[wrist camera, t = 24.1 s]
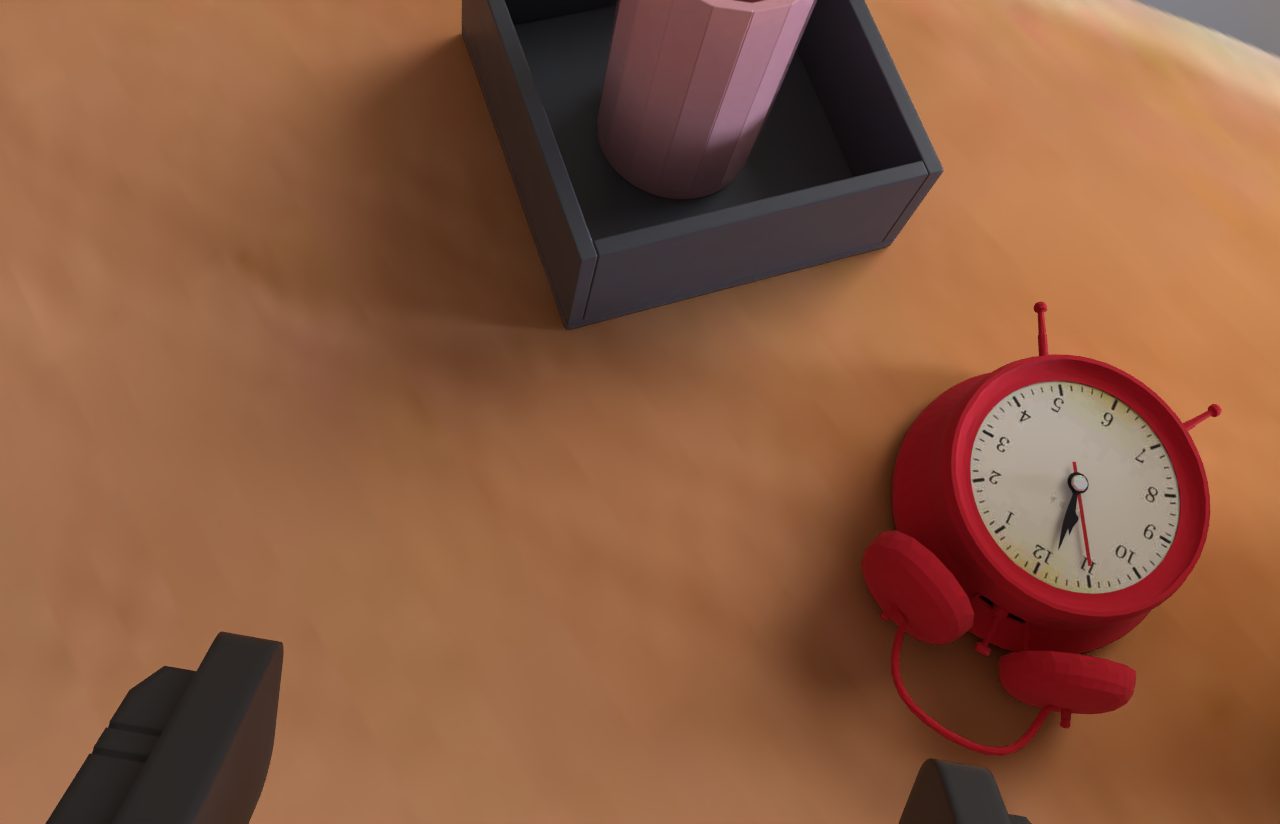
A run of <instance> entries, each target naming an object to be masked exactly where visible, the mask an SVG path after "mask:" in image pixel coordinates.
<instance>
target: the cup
mask: <svg viewBox="0 0 1280 824" xmlns="http://www.w3.org/2000/svg"><path fill="white" fill-rule="evenodd" d="M816 2H817V0H617V4H616V9H615V14H614V20H613V25H612V30H611V35H610V41H609V46H608V51H607V56H606V62H605V67H604V72H603V77H602V83H601V88H600V93H599V100H598V109H597V116H596V131H597V138H598V141H599V144H600V147H601V149H602V151H603V154H604V155H605V157H606V159H607V160H608V162H609V163H610V165H611V166H612V167H613V168H614V169H615V171H616V172H617V173H618V174H619V175H621V176H622V177H623V178H624V179H625V180H626V181H628V182H629V183H630V184H632V185H634V186H635V187H637V188H639V189H641V190H643V191H645V192H647V193H650V194H653V195H656V196H659V197H664V198H669V199H694V198H700V197H704V196H707V195H711V194H713V193H715V192H717V191H720V190H721V189H723V188H725V187H726V186H728V185H729V184H730V183H731V182H733V181H734V180H735V179H736V178H737V177H738V176H739V174H740V173H741V172H742V171H743V169H744V167H745V166H746V164H747V162H748V160H749V157H750V155H751V153H752V151H753V149H754V148H755V146H756V143H757V141H758V139H759V136H760V134H761V132H762V129H763V127H764V124H765V122H766V120H767V117H768V115H769V113H770V110H771V108H772V106H773V103H774V101H775V98H776V96H777V94H778V91H779V89H780V87H781V84H782V82H783V80H784V77H785V75H786V73H787V70H788V68H789V65H790V63H791V61H792V58H793V56H794V54H795V51H796V49H797V47H798V44H799V42H800V39H801V37H802V35H803V32H804V30H805V28H806V25H807V23H808V21H809V18H810V16H811V13H812V11H813V9H814V6H815V4H816Z"/></svg>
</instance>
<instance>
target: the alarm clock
mask: <svg viewBox="0 0 1280 824" xmlns="http://www.w3.org/2000/svg"><path fill="white" fill-rule="evenodd" d="M1046 310H1047V305H1046V304H1045V303H1044V302H1037V303H1036V304H1035V306H1034V311H1035V312H1037V313H1038V328H1039V335H1038V346H1039V356H1037V357H1031V358H1026V359H1021V360H1018V361H1015V362H1012V363H1009V364H1007V365H1004V366H1002V367H1000V368H999V369H997V370H995V371H993V372H991V373H987V374H983V375H979V376H976V377H973V378H970V379H968V380H965V381H963V382H961V383H959V384H957V385H955V386H953V387H951V388H950V389H948V390H947V391H945V392H944V393H942V394H941V395H940V396H938V397H937V398H936V399H935V400H934V401H933V402H932V403H931V404H930V405H929V406H928V407H927V408H926V409H925V410H924V411H923V412H922V413H921V414H920V415H919V416H918V418H917V419H916V420H915V421H914V423H913V424H912V426H911V427H910V429H909V431H908V433H907V434H906V436H905V438H904V440H903V443H902V445H901V448H900V450H899V453H898V456H897V460H896V464H895V469H894V475H893V483H892V506H893V515H894V521H895V526H896V530H897V531H884V532H882V533H881V534H880V535H879V536H878V537H876V538H875V539H874V540H873V541H872V543H871V544H870V545H869V546H868V548H867V549H866V550H865V553H864V557H863V560H862V572H863V576H864V579H865V583H866V585H867V587H868V589H869V591H870V592H871V594H872V596H873V598H874V599H875V601H876V602H877V603H878V605H879V606H880V607H881V609H882V610H883V612H882V613H881V614H880V615H881V618H882V619H883V620H885V621H887V620H889V619H891V620H892V621H893V622H894V623H896V624H897V625H898V626H899V627H898V630H897V633H896V636H895V639H894V643H893V650H892V656H891V673H892V677H893V681H894V684H895V686H896V689H897V691H898V694H899V696H900V697H901V699H902V700H903V701H904V703H905V704H906V705H907V707H908V708H909V709H910V710H911V711H912V712H913V713H914V714H915V715H916V716H917V717H918V718H919V719H920V720H921V721H922V722H924V723H925V724H926V725H928V726H929V727H931V728H932V729H933V730H935V731H936V732H938V733H939V734H941V735H942V736H943V737H945V738H946V739H948V740H951V741H953V742H955V743H957V744H959V745H961V746H963V747H965V748H967V749H969V750H972V751H976V752H979V753H983V754H986V755H1000V756H1001V755H1006V754H1011V753H1015V752H1016V751H1018V750H1019V749H1021V748H1022V747H1024V746H1025V745H1027V744H1028V742H1029V741H1030V740H1031V739H1032V738H1033V737H1034V735H1035V734H1036V733H1037V731H1038V729H1039V728H1040V726H1041V725H1042V723H1043V722H1044V720H1045V718H1046V717H1047V715H1048V714H1049V713H1050V712H1051V711H1057V712H1061V723H1060V726H1061V727H1063V728H1069V727H1070V720H1071V713H1076V714H1099V713H1105V712H1109V711H1114V710H1116V709H1118V708H1120V707H1122V706H1123V705H1125V704H1126V703H1127V702H1128V701H1129V700H1130V698H1131V697H1132V695H1133V692H1134V687H1135V683H1136V671H1135V670H1133V669H1131V668H1130V667H1128V666H1126V665H1123V664H1120V663H1117V662H1113V661H1110V660H1106V659H1102V658H1097V657H1091V656H1086V655H1081V654H1080V653H1084V652H1088V651H1091V650H1094V649H1097V648H1100V647H1103V646H1105V645H1107V644H1109V643H1112V642H1114V641H1116V640H1117V639H1119V638H1121V637H1122V636H1124V635H1125V634H1127V633H1128V632H1130V631H1131V630H1132V629H1133V628H1134V627H1136V626H1137V625H1138V624H1139V623H1140V622H1141V621H1142V620H1143V619H1144V618H1145V617H1146V616H1147V614H1148V613H1149V612H1150V611H1151V610H1152V609H1154V608H1155V607H1157V606H1159V605H1160V604H1161V603H1163V602H1164V601H1165V600H1167V599H1168V598H1169V597H1171V596H1172V595H1173V594H1174V593H1175V592H1176V591H1177V589H1178V588H1179V587H1180V586H1181V585H1182V584H1183V582H1184V581H1185V580H1186V578H1187V577H1188V575H1189V574H1190V573H1191V571H1192V570H1193V568H1194V566H1195V564H1196V563H1197V561H1198V559H1199V557H1200V555H1201V552H1202V549H1203V547H1204V544H1205V541H1206V537H1207V532H1208V527H1209V519H1210V495H1209V488H1208V481H1207V478H1206V474H1205V470H1204V466H1203V463H1202V460H1201V458H1200V455H1199V453H1198V450H1197V448H1196V446H1195V444H1194V442H1193V440H1192V438H1191V436H1190V434H1189V433H1188V431H1189V430H1190V429H1192V428H1194V427H1195V425H1197V424H1199V423H1200V422H1202V421H1203V420H1205V419H1207V418H1208V417H1210V416H1212V417H1217V416H1219V415H1220V413H1221V407H1220V406H1219V405H1217V404H1212V405H1211V406H1209V407H1208V411H1206V412H1205V413H1203V414H1201V415H1199V416H1197V417H1195V418H1193V419H1191V420H1189V421H1187V422H1185V423H1183V424H1182V422H1181V421H1180V419H1179V418H1178V417H1177V415H1176V414H1175V413H1174V412H1173V411H1172V409H1171V408H1170V407H1169V406H1168V405H1167V404H1166V403H1165V402H1164V401H1163V400H1162V399H1161V398H1160V397H1159V396H1158V395H1157V394H1156V393H1155V392H1154V391H1152V390H1151V389H1150V388H1149V387H1147V386H1146V385H1145V384H1144V383H1142V382H1141V381H1139V380H1138V379H1136V378H1134V377H1133V376H1131V375H1129V374H1128V373H1126V372H1124V371H1122V370H1120V369H1118V368H1116V367H1114V366H1111V365H1109V364H1107V363H1104V362H1100V361H1097V360H1094V359H1090V358H1085V357H1081V356H1073V355H1048V346H1047V335H1046V329H1045V318H1044V312H1046ZM904 631H905V632H906V633H908V634H909V635H911V636H913V637H914V638H916V639H917V640H920V641H923V642H926V643H930V644H935V645H940V644H946V643H950V642H953V641H954V640H956V639H958V638H959V637H961V636H962V635H964V634H965V633H966V632H967V631H969V632H971V633H972V634H974V635H976V636H978V637H979V638H981V639H983V641H982V643H981V642H977V644H976V645H975V647H974V650H976V651H978V652H979V653H981V654H983V655H984V656H986V657H987V656H988V655H989V654H990V652H991V648H989V647H987V646H988V644H989V642H990V643H992V644H994V645H996V646H998V647H1000V648H1003V649H1006V650H1010V651H1014V652H1013V653H1008V654H1006V655H1004V656H1002V657H1000V659H999V677H1000V682H1001V684H1002V686H1003V687H1004V689H1005V690H1006V691H1007V692H1008V693H1009V694H1010V695H1011V696H1013V697H1014V698H1016V699H1018V700H1019V701H1021V702H1023V703H1026V704H1029V705H1032V706H1035V707H1039V708H1042V710H1041V712H1040V713H1039V715H1038V716H1037V718H1036V719H1035V721H1034V722H1033V724H1032V725H1031V727H1030V728H1029V730H1028V731H1027V732H1026V733H1025V734H1024V735H1023V737H1022V738H1021V739H1019V740H1018V741H1016V742H1015V743H1013V744H1012V745H1008V746H1005V747H989V746H984V745H979V744H977V743H974V742H972V741H969V740H966V739H964V738H962V737H960V736H958V735H956V734H955V733H953V732H951V731H949V730H947V729H945V728H944V727H942V726H941V725H939V724H938V723H937V722H935V721H934V720H933V719H931V718H930V717H929V716H927V715H926V714H925V713H924V712H923V711H922V710H921V709H920V708H919V707H918V706H917V705H916V704H915V703H914V702H913V701H912V699H911V698H910V696H909V695H908V693H907V691H906V690H905V688H904V686H903V683H902V680H901V676H900V669H899V659H900V651H901V645H902V640H903V636H904Z"/></svg>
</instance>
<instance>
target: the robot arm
mask: <svg viewBox="0 0 1280 824" xmlns="http://www.w3.org/2000/svg"><path fill="white" fill-rule="evenodd" d="M282 663H283V643H282V642H278V641H272V640H266V639H261V638H255V637H249V636H244V635H238V634H232V633H227V632H220V633H219V634H218V635H217V636H216V638H215V639H214V641H213V643H212V645H211V646H210V648H209V650H208V652H207V654H206V655H205V657H204V659H203V661H202V663H201V664H200V666H199V668H198V670H197V671H191V670H186V669H180V668H174V667H168V666H164V667H162V668H161V669H159V670H158V671H156V672H155V673H154V674H152V675H151V676H149V677H148V678H146V679H145V680H144V681H142V682H141V683H139V684H138V685H136V686H135V687H133V688H132V689H131V690H129V692H128V693H127V695H126V697H125V698H124V700H123V701H122V703H121V705H120V706H119V708H118V709H117V711H116V713H115V714H114V716H113V717H112V719H111V720H110V724H109V727H108V728H105V730H104V732H103V733H102V735H101V736H100V738H99V740H98V741H97V743H96V744H95V746H94V749H93V752H92V754H89V755H88V757H87V759H86V760H85V762H84V763H83V765H82V767H81V768H80V770H79V771H78V773H77V775H76V776H75V778H74V779H73V781H72V783H71V784H70V786H69V787H68V789H67V790H66V792H65V794H64V795H63V797H62V798H61V800H60V802H59V803H58V805H57V806H56V808H55V810H54V811H53V813H52V814H51V816H50V818H49V819H48V821H47V822H46V824H249V821H250V819H251V816H252V814H253V812H254V809H255V807H256V804H257V802H258V800H259V797H260V795H261V792H262V789H263V786H264V783H265V780H266V776H267V773H268V769H269V765H270V760H271V755H272V750H273V744H274V736H275V727H276V718H277V709H278V699H279V690H280V681H281V672H282ZM899 824H1031V823H1030V821H1029V820H1028V819H1027V818H1026V817H1022V816H1016V815H1011V814H1008V813H1007V810H1006V808H1005V805H1004V802H1003V800H1002V797H1001V794H1000V792H999V789H998V787H997V784H996V781H995V779H994V776H993V774H992V773H991V771H990V770H988V769H987V768H982V767H977V766H971V765H965V764H960V763H954V762H948V761H943V760H937V759H931V758H930V759H927V760H926V761H925V762H924V763H923V764H922V766H921V768H920V770H919V772H918V775H917V777H916V780H915V783H914V785H913V788H912V790H911V793H910V795H909V798H908V801H907V803H906V806H905V808H904V811H903V814H902V816H901V819H900V821H899Z"/></svg>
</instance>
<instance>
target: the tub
mask: <svg viewBox="0 0 1280 824" xmlns="http://www.w3.org/2000/svg"><path fill="white" fill-rule="evenodd" d="M616 4H617V0H462V35H463V38H464V40H465V43H466V46H467V49H468V52H469V55H470V58H471V60H472V63H473V66H474V69H475V72H476V75H477V78H478V80H479V83H480V86H481V89H482V92H483V95H484V98H485V101H486V103H487V106H488V109H489V112H490V115H491V118H492V121H493V123H494V126H495V129H496V132H497V135H498V138H499V141H500V143H501V146H502V149H503V152H504V155H505V158H506V161H507V164H508V166H509V169H510V172H511V175H512V178H513V181H514V184H515V186H516V189H517V192H518V195H519V198H520V201H521V204H522V206H523V209H524V212H525V215H526V218H527V221H528V224H529V227H530V229H531V232H532V235H533V238H534V241H535V244H536V247H537V249H538V252H539V255H540V258H541V261H542V264H543V267H544V269H545V272H546V275H547V278H548V281H549V284H550V287H551V289H552V292H553V295H554V298H555V301H556V304H557V307H558V310H559V312H560V315H561V318H562V321H563V324H564V327H565V329H566V330H569V329H573V328H577V327H581V326H585V325H588V324H592V323H596V322H600V321H604V320H608V319H611V318H615V317H619V316H623V315H627V314H631V313H635V312H638V311H642V310H646V309H650V308H654V307H658V306H661V305H665V304H669V303H673V302H677V301H681V300H684V299H688V298H692V297H696V296H700V295H704V294H707V293H711V292H715V291H719V290H723V289H727V288H730V287H734V286H738V285H742V284H746V283H750V282H754V281H757V280H761V279H765V278H769V277H773V276H777V275H780V274H784V273H788V272H792V271H796V270H800V269H803V268H807V267H811V266H815V265H819V264H823V263H826V262H830V261H834V260H838V259H842V258H846V257H850V256H853V255H857V254H861V253H865V252H869V251H873V250H876V249H880V248H884V247H888V246H890V245H891V244H892V242H893V241H894V239H895V238H896V237H897V235H898V234H899V233H900V231H901V230H902V228H903V227H904V226H905V224H906V223H907V221H908V220H909V219H910V217H911V216H912V214H913V213H914V212H915V210H916V209H917V207H918V206H919V205H920V203H921V202H922V200H923V199H924V198H925V196H926V195H927V193H928V192H929V191H930V189H931V188H932V186H933V185H934V184H935V182H936V181H937V179H938V178H939V177H940V175H941V174H942V172H943V167H942V165H941V163H940V161H939V159H938V157H937V155H936V152H935V150H934V148H933V146H932V144H931V142H930V140H929V137H928V135H927V133H926V131H925V129H924V127H923V125H922V122H921V120H920V118H919V116H918V114H917V112H916V110H915V108H914V105H913V103H912V101H911V99H910V97H909V95H908V93H907V90H906V88H905V86H904V84H903V82H902V80H901V78H900V75H899V73H898V71H897V69H896V67H895V65H894V63H893V60H892V58H891V56H890V54H889V52H888V50H887V48H886V45H885V43H884V41H883V39H882V37H881V35H880V33H879V30H878V28H877V26H876V24H875V22H874V20H873V18H872V15H871V13H870V11H869V9H868V7H867V5H866V3H865V1H864V0H817V2H816V4H815V6H814V9H813V11H812V13H811V16H810V18H809V21H808V23H807V25H806V28H805V30H804V32H803V35H802V37H801V39H800V42H799V44H798V47H797V49H796V51H795V54H794V56H793V58H792V61H791V63H790V65H789V68H788V70H787V73H786V75H785V77H784V80H783V82H782V84H781V87H780V89H779V91H778V94H777V96H776V98H775V101H774V103H773V106H772V108H771V110H770V113H769V115H768V117H767V120H766V122H765V124H764V127H763V129H762V132H761V134H760V136H759V139H758V141H757V143H756V146H755V148H754V149H753V151H752V153H751V155H750V157H749V160H748V162H747V164H746V166H745V167H744V169H743V171H742V172H741V173H740V174H739V176H738V177H737V178H736V179H735V180H734V181H733V182H731V183H730V184H729V185H728V186H726V187H725V188H723V189H721V190H720V191H717V192H715V193H713V194H711V195H707V196H704V197H700V198H694V199H669V198H664V197H659V196H656V195H653V194H650V193H647V192H645V191H643V190H641V189H639V188H637V187H635V186H634V185H632V184H630V183H629V182H628V181H626V180H625V179H624V178H623V177H622V176H621V175H619V174H618V173H617V172H616V171H615V169H614V168H613V167H612V166H611V165H610V163H609V162H608V160H607V159H606V157H605V155H604V154H603V151H602V149H601V147H600V144H599V141H598V138H597V131H596V116H597V109H598V100H599V93H600V88H601V83H602V77H603V72H604V67H605V62H606V56H607V51H608V46H609V41H610V35H611V30H612V25H613V20H614V14H615V9H616Z"/></svg>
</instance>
